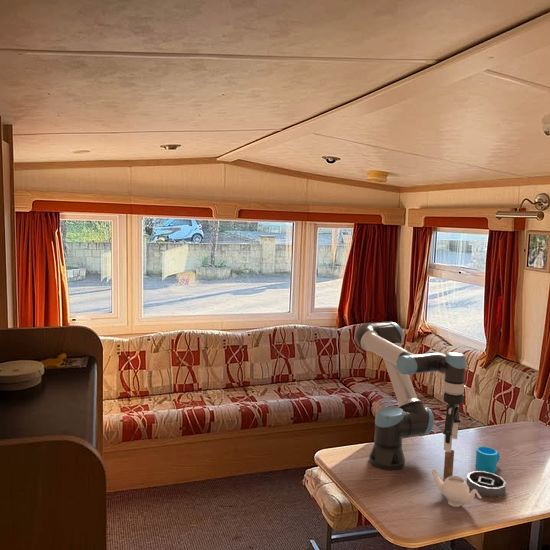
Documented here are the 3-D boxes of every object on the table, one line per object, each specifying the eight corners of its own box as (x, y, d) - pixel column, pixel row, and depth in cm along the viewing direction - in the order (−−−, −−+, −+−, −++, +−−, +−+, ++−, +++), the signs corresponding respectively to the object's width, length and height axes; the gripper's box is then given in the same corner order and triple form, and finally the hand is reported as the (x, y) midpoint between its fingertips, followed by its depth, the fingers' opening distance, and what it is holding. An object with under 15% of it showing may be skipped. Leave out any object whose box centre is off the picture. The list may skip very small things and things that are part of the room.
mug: (486, 475, 222) (488, 456, 221) (471, 467, 229) (472, 448, 228) (506, 469, 227) (507, 451, 226) (490, 461, 234) (491, 443, 234)
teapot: (473, 519, 188) (475, 494, 187) (423, 496, 203) (425, 473, 202) (486, 510, 194) (488, 486, 193) (437, 488, 209) (438, 466, 208)
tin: (464, 491, 208) (464, 482, 208) (469, 476, 220) (470, 468, 220) (503, 500, 201) (503, 492, 201) (506, 484, 214) (507, 476, 213)
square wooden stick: (443, 482, 214) (445, 451, 213) (444, 479, 217) (446, 448, 215) (450, 484, 213) (452, 453, 211) (452, 481, 215) (454, 450, 214)
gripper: (458, 403, 198) (455, 458, 200) (468, 385, 220) (465, 435, 222) (437, 399, 201) (434, 453, 203) (449, 382, 223) (446, 431, 225)
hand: (450, 444), depth 213 cm, fingers open, 13 cm apart
